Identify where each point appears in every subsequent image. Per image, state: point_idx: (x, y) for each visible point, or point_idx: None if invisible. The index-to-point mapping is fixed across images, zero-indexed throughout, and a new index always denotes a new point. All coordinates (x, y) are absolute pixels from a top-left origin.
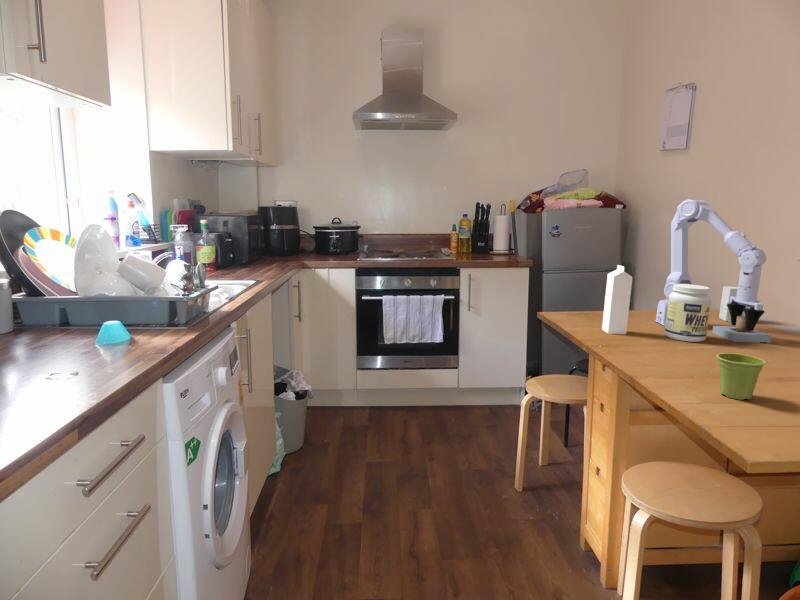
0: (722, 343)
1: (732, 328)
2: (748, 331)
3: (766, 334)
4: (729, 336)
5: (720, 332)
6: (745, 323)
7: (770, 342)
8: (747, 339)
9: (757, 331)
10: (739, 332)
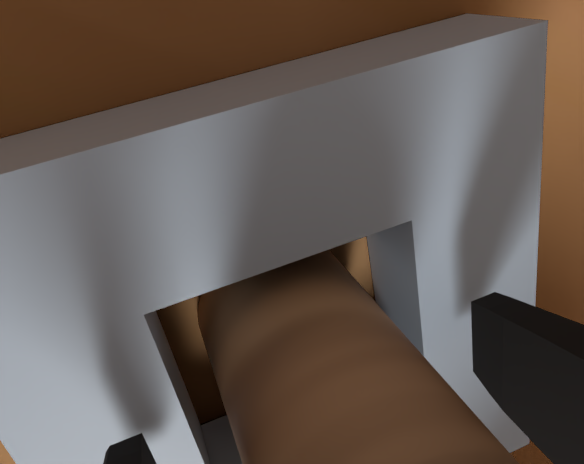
0: (533, 452)
1: (205, 462)
2: (376, 305)
3: (487, 83)
4: None
5: None
6: (550, 455)
7: (473, 18)
8: None
9: (294, 159)
10: None
